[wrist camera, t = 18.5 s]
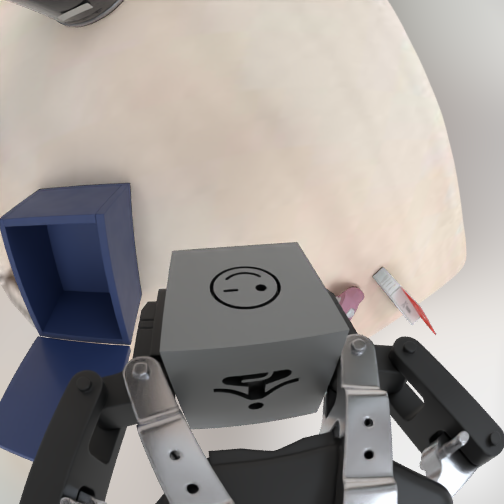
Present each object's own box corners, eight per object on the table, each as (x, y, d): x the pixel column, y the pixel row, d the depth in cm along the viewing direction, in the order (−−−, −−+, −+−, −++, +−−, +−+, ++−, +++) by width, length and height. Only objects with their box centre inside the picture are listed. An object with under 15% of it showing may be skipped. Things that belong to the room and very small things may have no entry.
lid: (-16, 436, 9) (12, 465, 11) (102, 478, 11) (123, 498, 13) (37, 335, 23) (50, 367, 25) (129, 345, 26) (137, 377, 27)
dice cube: (297, 242, 11) (349, 329, 7) (287, 328, 14) (316, 412, 10) (172, 250, 11) (159, 351, 6) (188, 338, 13) (190, 429, 9)
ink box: (396, 307, 43) (425, 345, 35) (371, 276, 38) (406, 318, 30) (406, 298, 43) (437, 335, 35) (383, 265, 38) (420, 305, 30)
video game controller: (340, 275, 39) (342, 297, 33) (365, 289, 39) (371, 313, 32) (307, 323, 43) (302, 350, 37) (331, 335, 43) (329, 363, 36)
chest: (39, 189, 24) (-3, 219, 17) (130, 182, 27) (103, 214, 19) (62, 291, 31) (39, 336, 24) (142, 294, 34) (130, 345, 26)
